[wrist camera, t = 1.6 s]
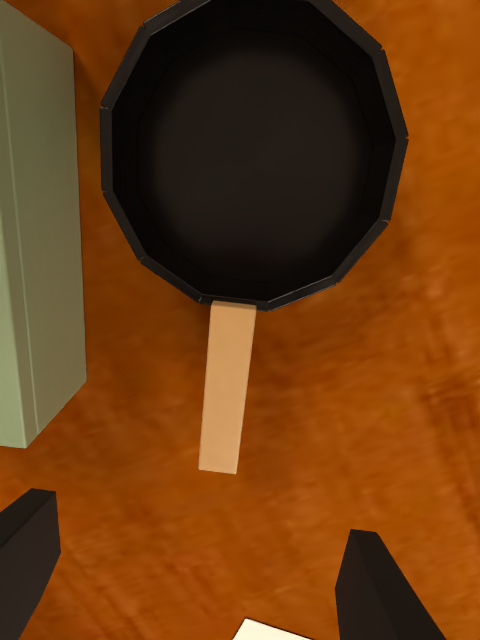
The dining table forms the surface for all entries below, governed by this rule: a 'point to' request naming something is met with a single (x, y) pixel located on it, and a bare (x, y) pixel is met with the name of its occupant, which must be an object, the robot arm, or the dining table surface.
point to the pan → (249, 167)
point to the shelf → (38, 230)
